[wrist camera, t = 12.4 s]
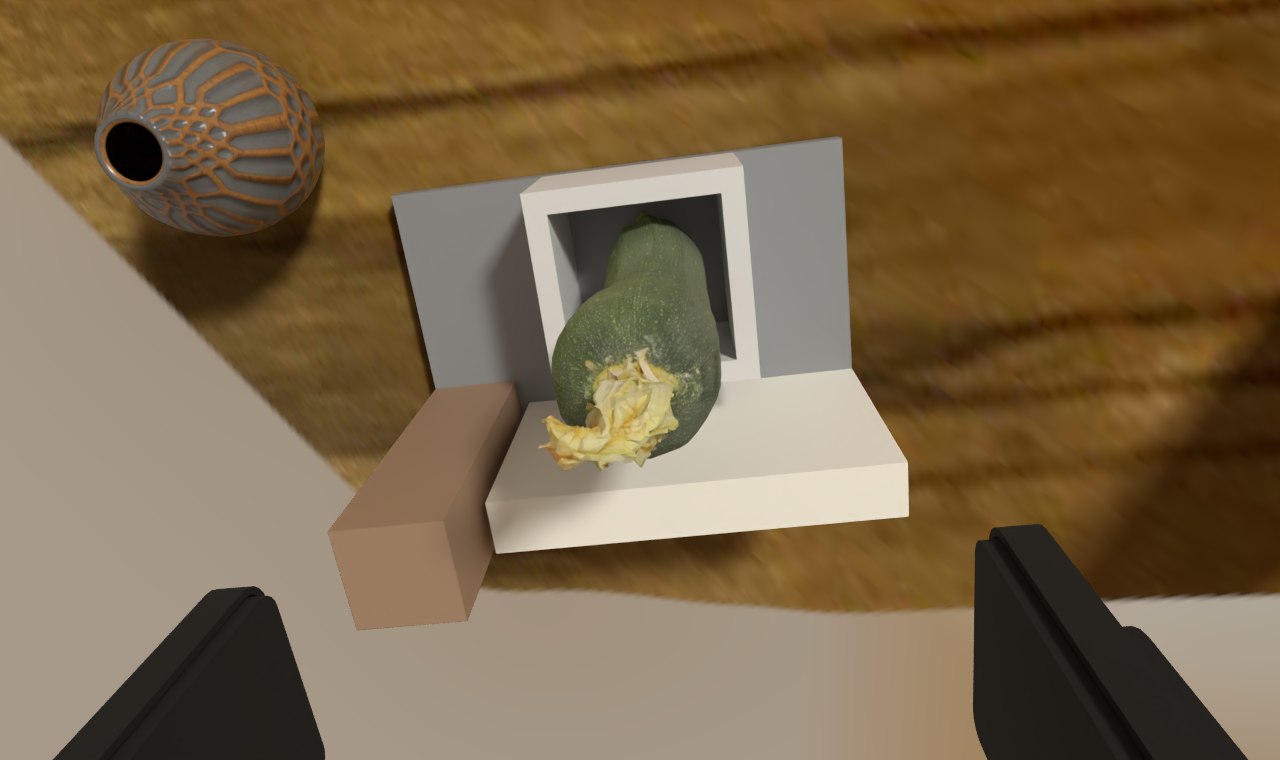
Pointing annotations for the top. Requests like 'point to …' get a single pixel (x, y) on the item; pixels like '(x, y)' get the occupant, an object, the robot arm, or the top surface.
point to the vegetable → (637, 354)
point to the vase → (210, 137)
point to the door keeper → (524, 394)
